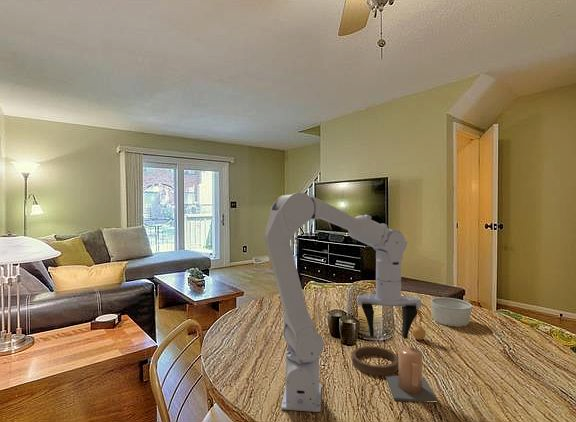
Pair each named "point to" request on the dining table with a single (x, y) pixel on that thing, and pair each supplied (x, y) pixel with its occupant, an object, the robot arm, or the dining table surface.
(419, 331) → the figurine
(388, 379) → the charcoal mat
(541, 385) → the dining table surface
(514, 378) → the dining table surface
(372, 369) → the dark brown ring
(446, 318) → the ramekin
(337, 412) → the dining table surface
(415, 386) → the pink rounded pillar
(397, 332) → the dining table surface
